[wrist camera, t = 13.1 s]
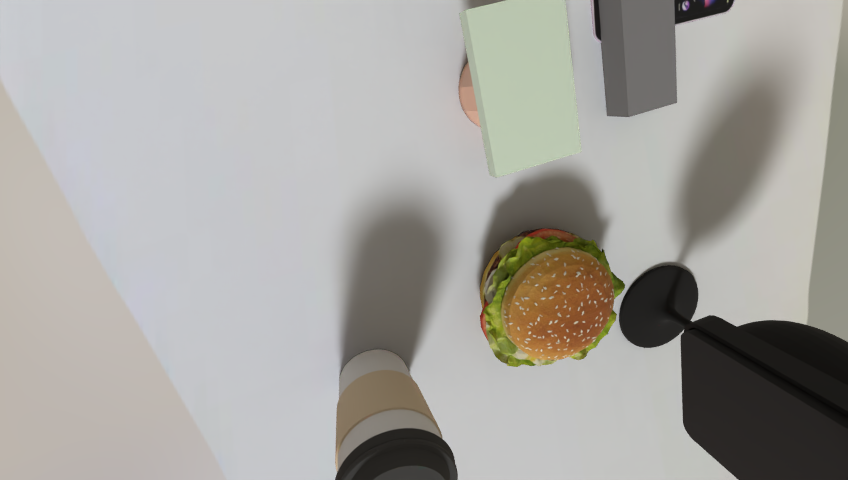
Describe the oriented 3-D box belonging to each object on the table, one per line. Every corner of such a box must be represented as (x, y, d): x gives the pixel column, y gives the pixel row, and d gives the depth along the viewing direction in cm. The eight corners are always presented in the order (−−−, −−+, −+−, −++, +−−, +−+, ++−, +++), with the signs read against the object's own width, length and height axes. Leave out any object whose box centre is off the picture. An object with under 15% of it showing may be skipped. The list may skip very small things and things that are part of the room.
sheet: (459, 13, 31) (465, 9, 29) (553, -9, 32) (563, -14, 30) (489, 175, 35) (496, 177, 34) (571, 150, 36) (581, 151, 35)
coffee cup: (322, 347, 41) (328, 473, 27) (415, 331, 43) (464, 441, 29) (333, 424, 44) (343, 574, 30) (420, 406, 46) (466, 539, 32)
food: (447, 334, 44) (474, 380, 37) (497, 205, 41) (538, 227, 34) (556, 356, 48) (600, 402, 41) (609, 241, 45) (667, 268, 38)
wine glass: (709, 270, 50) (943, 370, 31) (676, 349, 52) (874, 484, 34) (637, 258, 47) (850, 360, 28) (606, 343, 49) (782, 487, 31)
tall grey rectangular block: (597, -1, 37) (620, -9, 35) (647, -13, 38) (673, -22, 35) (607, 115, 41) (628, 116, 38) (652, 102, 42) (676, 102, 39)
